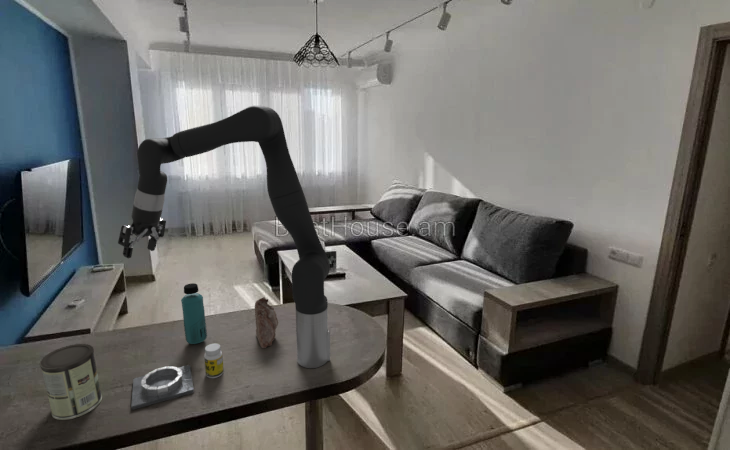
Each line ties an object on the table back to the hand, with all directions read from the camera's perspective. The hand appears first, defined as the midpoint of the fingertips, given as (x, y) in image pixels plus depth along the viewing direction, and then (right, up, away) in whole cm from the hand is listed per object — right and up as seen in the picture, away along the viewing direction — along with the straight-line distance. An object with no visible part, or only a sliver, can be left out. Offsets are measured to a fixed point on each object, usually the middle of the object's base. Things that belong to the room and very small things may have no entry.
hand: (139, 253), depth 116 cm
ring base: (+15, -35, -14) cm, 40 cm away
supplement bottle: (+26, -34, -8) cm, 43 cm away
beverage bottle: (+15, -29, +7) cm, 33 cm away
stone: (+37, -29, +10) cm, 48 cm away
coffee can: (-3, -36, -21) cm, 42 cm away
